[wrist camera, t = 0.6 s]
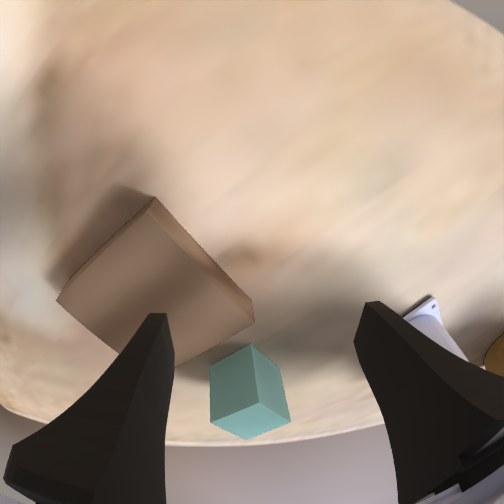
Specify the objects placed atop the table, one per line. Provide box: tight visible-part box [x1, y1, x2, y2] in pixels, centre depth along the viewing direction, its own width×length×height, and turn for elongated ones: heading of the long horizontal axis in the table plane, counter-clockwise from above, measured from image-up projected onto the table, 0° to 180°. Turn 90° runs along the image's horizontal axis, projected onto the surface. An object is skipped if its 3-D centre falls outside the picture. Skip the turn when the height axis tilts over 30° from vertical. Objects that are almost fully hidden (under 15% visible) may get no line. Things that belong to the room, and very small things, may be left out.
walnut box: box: [56, 197, 255, 368], centre depth 20 cm, size 10×10×3 cm
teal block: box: [210, 344, 291, 440], centre depth 23 cm, size 4×4×6 cm
